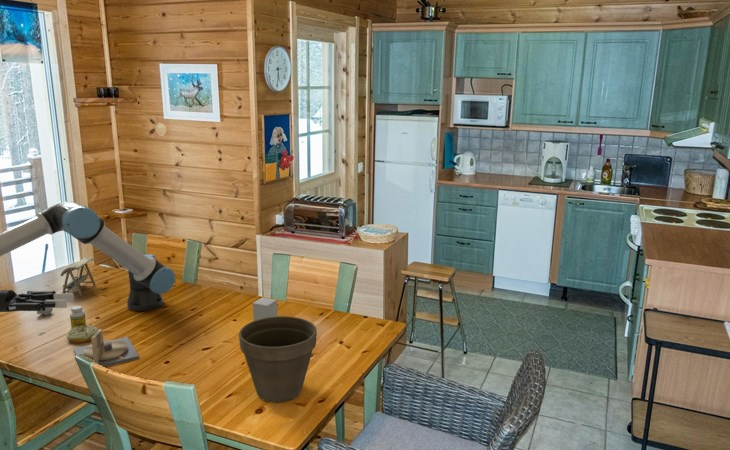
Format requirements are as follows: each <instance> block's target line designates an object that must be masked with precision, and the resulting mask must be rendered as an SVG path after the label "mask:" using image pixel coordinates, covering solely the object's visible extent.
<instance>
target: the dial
mask: <svg viewBox="0 0 730 450" xmlns="http://www.w3.org/2000/svg"><path fill="white" fill-rule="evenodd" d="M103 332H104V331H103V328H99V329H97V332H96V333H95V334H94V335H93V336H92V337H91V340H90V341H91V344H92V345H91V344H89V345H90V346H88V347H86V348H85V349H84V351H83V355H84V356H86V357H88V358H90V359H92V360H94V361H104V360H110V359H113V358H116V357H119V356H121V355H123V354H124V353H125V352H126V351H127V349H128V346H127V343H125V342H124V341H120V340H115V339H108V340H104V333H103Z"/></svg>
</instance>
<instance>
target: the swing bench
mask: <svg viewBox="0 0 730 450" xmlns="http://www.w3.org/2000/svg"><path fill="white" fill-rule="evenodd" d="M91 261H94V258H93V257H83V258H81V259H79V260H78V261H77V262H76V263H74V264H73V265H70V266H69V267H66V268H65V269H63V271H62V272H61V273H60V276H61V277H63V276H64V275H65V279H64V282H63V283H64V284H63V285H62V287H63V289H62V293H75V294H77V293H78V295H79V296H80V297H82V296H83V293H82V291H81V288H80V286H81V284H82V283H85V284H86V283H88V284H89V283H90V284H92V285H93V287H94V286H97V284H96V282H95V279H94V277H93V275H92V273H91V270H90V267H89V266H88V264H89V263H90V262H91ZM75 270H76V271H77V274H76V275H74V274H73V271H75ZM84 270H85V271H86V274H83V272H84ZM69 276H70V277H71V279H72V280H71V281H70V282H68V280H69ZM88 277H89V278H90V281H89V280H87V279H88ZM75 288H76V290H77V291H76V290H74V289H75Z"/></svg>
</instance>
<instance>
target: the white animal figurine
mask: <svg viewBox="0 0 730 450" xmlns="http://www.w3.org/2000/svg"><path fill="white" fill-rule="evenodd" d="M45 309H46V310H45V311H42V309H41V310H40V311H36V314H37V315H44V316H47V315H50V314H51V313H52V312H53V309H54V308H45Z"/></svg>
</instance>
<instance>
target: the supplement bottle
mask: <svg viewBox="0 0 730 450" xmlns="http://www.w3.org/2000/svg"><path fill="white" fill-rule="evenodd" d="M70 311H71V312H70V313H69V319H70V326H71V329H73V328H75V327H78V326H87V322H86V321H87V320H86V314H85V311H84V310H83V306H82V305H74V306H71V308H70Z"/></svg>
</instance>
